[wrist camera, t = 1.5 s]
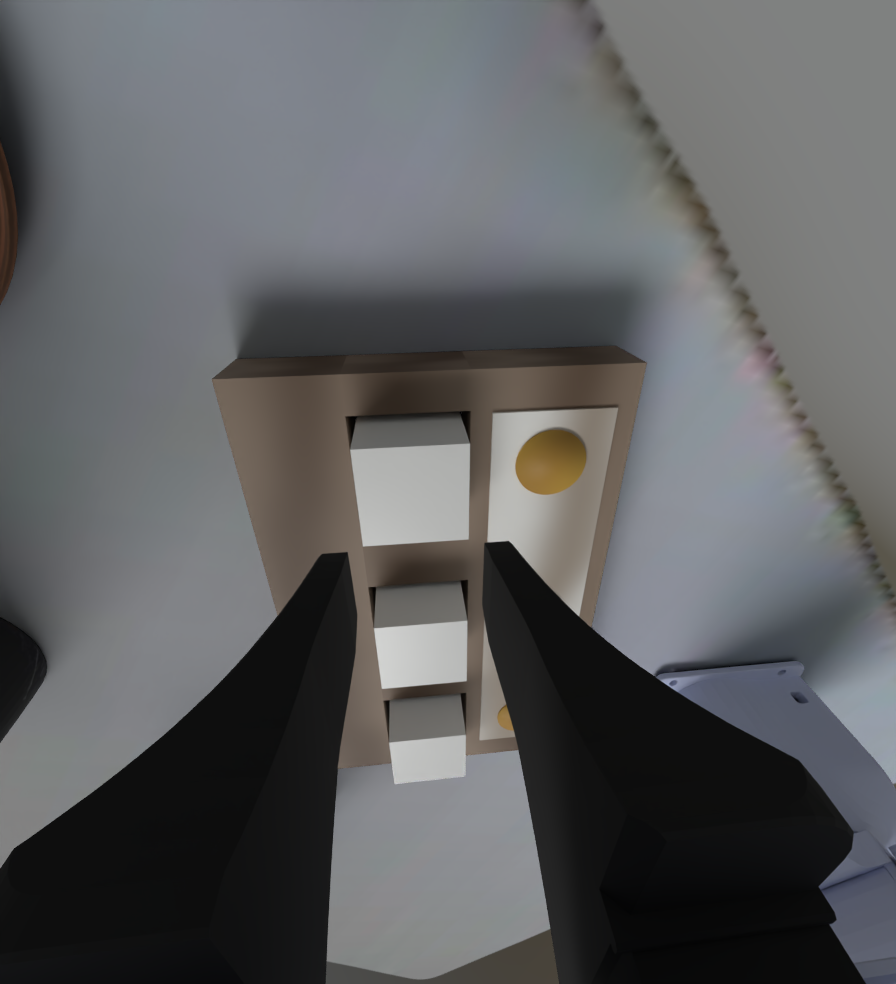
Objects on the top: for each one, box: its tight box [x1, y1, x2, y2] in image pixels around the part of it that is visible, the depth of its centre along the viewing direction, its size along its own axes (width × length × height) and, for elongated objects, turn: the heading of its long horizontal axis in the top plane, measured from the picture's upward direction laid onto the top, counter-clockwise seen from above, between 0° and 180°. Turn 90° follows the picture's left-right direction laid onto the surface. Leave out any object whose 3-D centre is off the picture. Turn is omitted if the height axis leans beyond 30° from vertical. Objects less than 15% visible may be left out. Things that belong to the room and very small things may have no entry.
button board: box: [212, 346, 647, 769], centre depth 21 cm, size 14×22×3 cm, turn 1°
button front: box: [350, 411, 470, 547], centre depth 16 cm, size 4×4×3 cm
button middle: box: [374, 580, 467, 689], centre depth 20 cm, size 4×4×3 cm
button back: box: [389, 693, 466, 784], centre depth 23 cm, size 4×4×3 cm
